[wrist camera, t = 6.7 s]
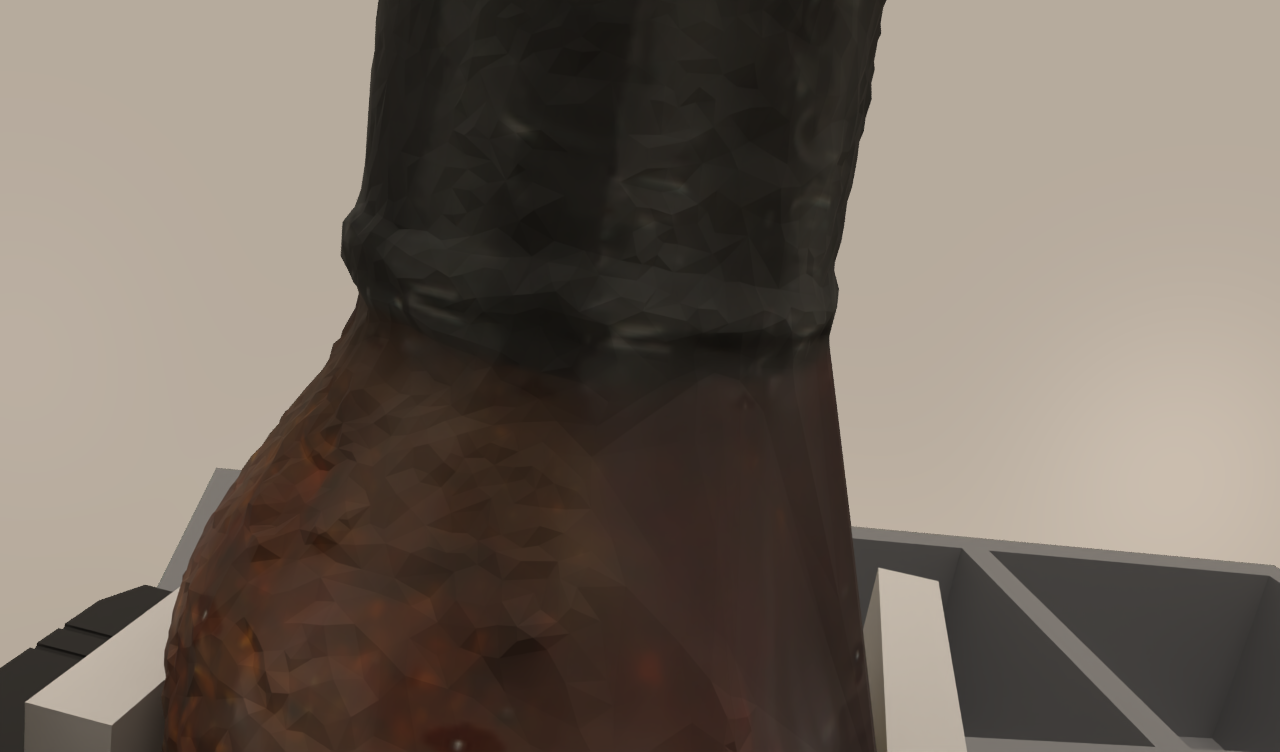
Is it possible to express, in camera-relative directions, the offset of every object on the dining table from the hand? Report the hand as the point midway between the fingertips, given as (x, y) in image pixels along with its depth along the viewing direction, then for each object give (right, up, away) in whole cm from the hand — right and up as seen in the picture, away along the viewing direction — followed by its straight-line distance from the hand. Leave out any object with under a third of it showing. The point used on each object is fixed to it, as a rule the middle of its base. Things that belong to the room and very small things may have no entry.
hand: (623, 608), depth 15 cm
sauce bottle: (-3, -11, -2) cm, 12 cm away
